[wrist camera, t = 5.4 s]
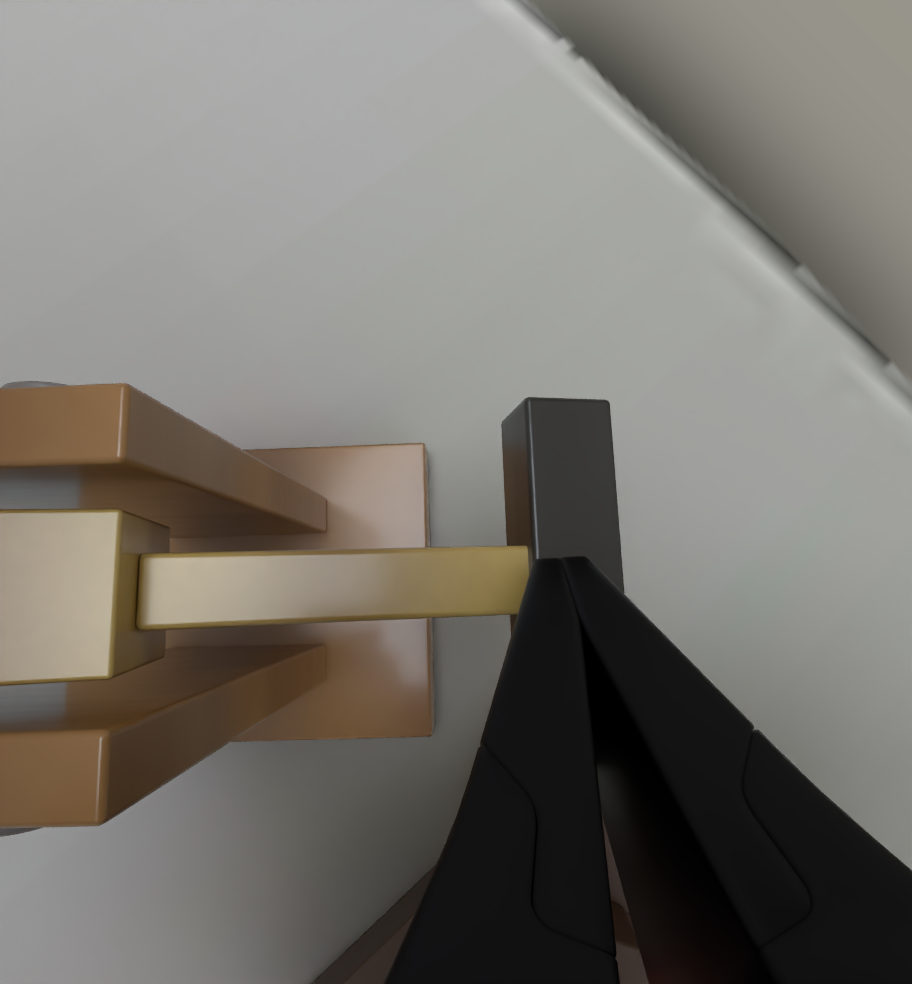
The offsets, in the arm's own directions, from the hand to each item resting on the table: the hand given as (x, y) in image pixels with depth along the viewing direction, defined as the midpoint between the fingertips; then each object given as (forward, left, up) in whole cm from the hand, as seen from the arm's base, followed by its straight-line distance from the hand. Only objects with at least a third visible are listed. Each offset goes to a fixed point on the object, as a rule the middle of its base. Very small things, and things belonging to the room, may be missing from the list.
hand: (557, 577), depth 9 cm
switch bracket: (+5, +6, -8) cm, 11 cm away
